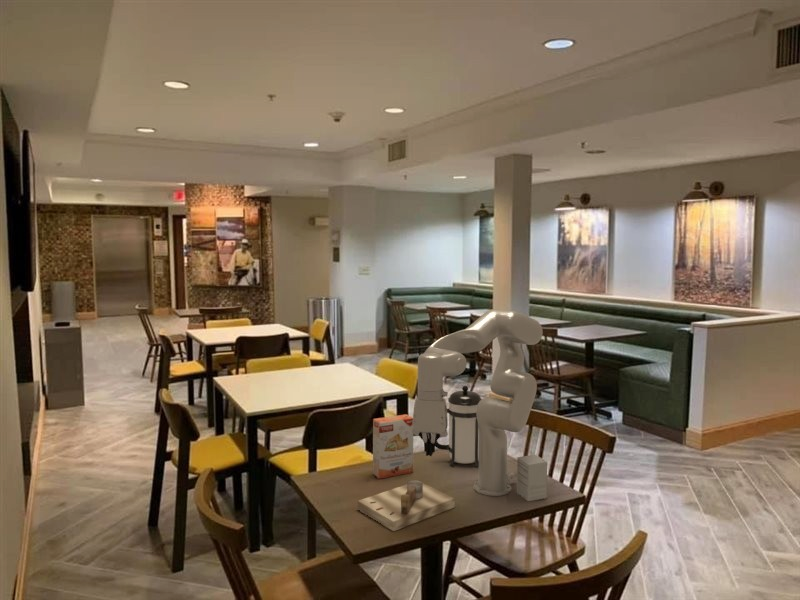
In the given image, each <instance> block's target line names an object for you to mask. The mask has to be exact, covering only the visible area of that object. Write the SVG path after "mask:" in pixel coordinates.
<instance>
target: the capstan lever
mask: <svg viewBox="0 0 800 600" xmlns="http://www.w3.org/2000/svg"><path fill="white" fill-rule="evenodd" d="M423 483H424V482H422V481H420V480H409V481H407V483H406V484H407V492H406V494H403V495H401V513H405V514H407V513H408V511H409V510H410V508H411V506H412V505H413V503H414V501H415V500H416V499H419V498H421V497H422V496H423Z"/></svg>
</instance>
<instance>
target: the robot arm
mask: <svg viewBox="0 0 800 600" xmlns="http://www.w3.org/2000/svg"><path fill="white" fill-rule="evenodd" d="M543 334H544V331H543V327H542V325H541V323H540V322H539V321H538V320H537V319H534V318H532V317H530V316H527V315H525V314H523V313H521V312H518V311H515V310H507V309H496V308H495V309H493V308H492V309H489V310H487V311H486V312H484V313H483V314H481V316H479V317H478V318H477V319H476V320H475V321H473V322H472V323H471V324H470V325H469V326H467V327H466V328H465V329H461V330H457V331H455V332H453V333H449V334H447V335H444V336H442V337H440V338H438V339H437V340H436V341H434V342H433V343H432V344H431V345H429V347H427V348H426V350H425V351H424V353H421V354H419V355H418V358H417V397H415V400H414V405H413V406H414V407H413V412H412V418H413V431H412V434H413V436H414V435H415V436H418V437H419V438H420V439H421V440H422V442H423V443H424V444H423V445H424V447H423V448H424V449H423V451H424V453H425V456H429V457H432V456H433V454H434V453H435V452H436V447H435V441H436V440H437V441H438V440H439V439H440V438H447V437H448V436H449V432H448V426H449V420H448V413H447V409H448V406H447V401H446V398H445V397H448V394H449V393H448V391H445V390H444V377H456V376H459V375H461V374H462V373H464V371H466V368H467V366H468V365H467V363H468V362H467V359H466V357H465V355H463V354H470V353H474V352H480V351H482V350H484V349H485V348H486V347H487V346H488V345H489V344H491V342H493V341H494V340H495V339H496V338H497V341H498V345H499V351H500V352H499V357H498V361H497V363H496V365H495V369H494V371H493V375H492V376H491V380H490V386H489V387H490V390H491V392H492V393H493V394H494V395H497V396H501V397H503V398H508V399H512V401H509V400H505V399H502V398H497V397H489V396H488V397H484V398H481V399H482V400H481V401H480V402H479V403H478V405H477V408H476V415H477V421H478V427H479V460H478V461H479V467H478V478H477V479H478V480H476V481H475V482H474V483H473V489H474V490H475V491H476V492H477V493H479V494H481V495H484V496H489V497H491V496H492V497H500V496H504V495H508V494H509V493H511V490H512V485H511V484H510V483H509V481H510V480H512V479H514V478H515V477H516V475H515V473H514V472H512V471H511V472H509V473H508V472H507V471H508V470H507V469H508V437H507V434H506V431H507V432H511V433H519V432H521V431H522V430H523V429H525V426H526V425H527V422H528V419H529V417H530V412H531V411H532V407H533V404H534V401H535V398H536V394H537V388H538V386H537V385H538V384H537V380H536V378H535V376H534V375H532V374H531V373H528V372H524V371H522V369H523V366H524V362H525V355H524V352H523V349H522V347H521V344H522V345H530V346H533V345H536V344H538V343H539V342H540V341H541V340H542V338H543ZM429 434H431V438H430V436H429Z"/></svg>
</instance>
